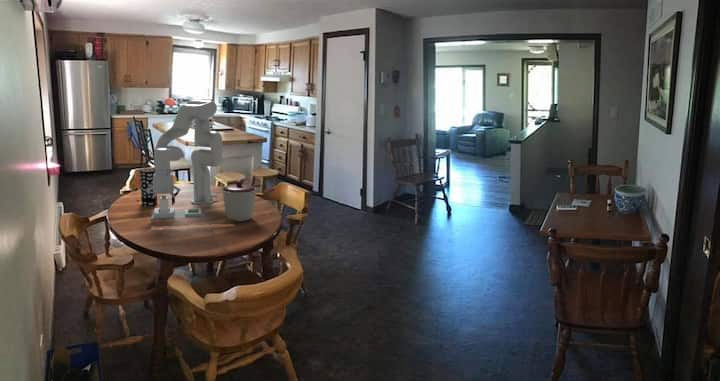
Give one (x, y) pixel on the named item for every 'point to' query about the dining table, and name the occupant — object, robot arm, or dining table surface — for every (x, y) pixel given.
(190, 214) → the patch panel
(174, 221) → the dining table surface
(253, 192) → the canister
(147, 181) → the white-spotted black cylinder
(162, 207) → the plug
